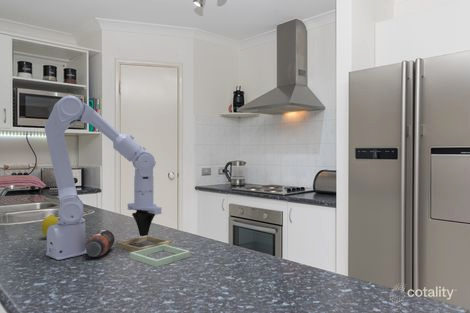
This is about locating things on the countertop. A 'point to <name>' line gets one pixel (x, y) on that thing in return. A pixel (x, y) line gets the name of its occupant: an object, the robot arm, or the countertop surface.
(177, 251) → the square frame
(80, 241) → the robot arm
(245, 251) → the countertop surface
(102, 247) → the supplement bottle
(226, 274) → the countertop surface
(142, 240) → the socket collar
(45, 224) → the lemon
